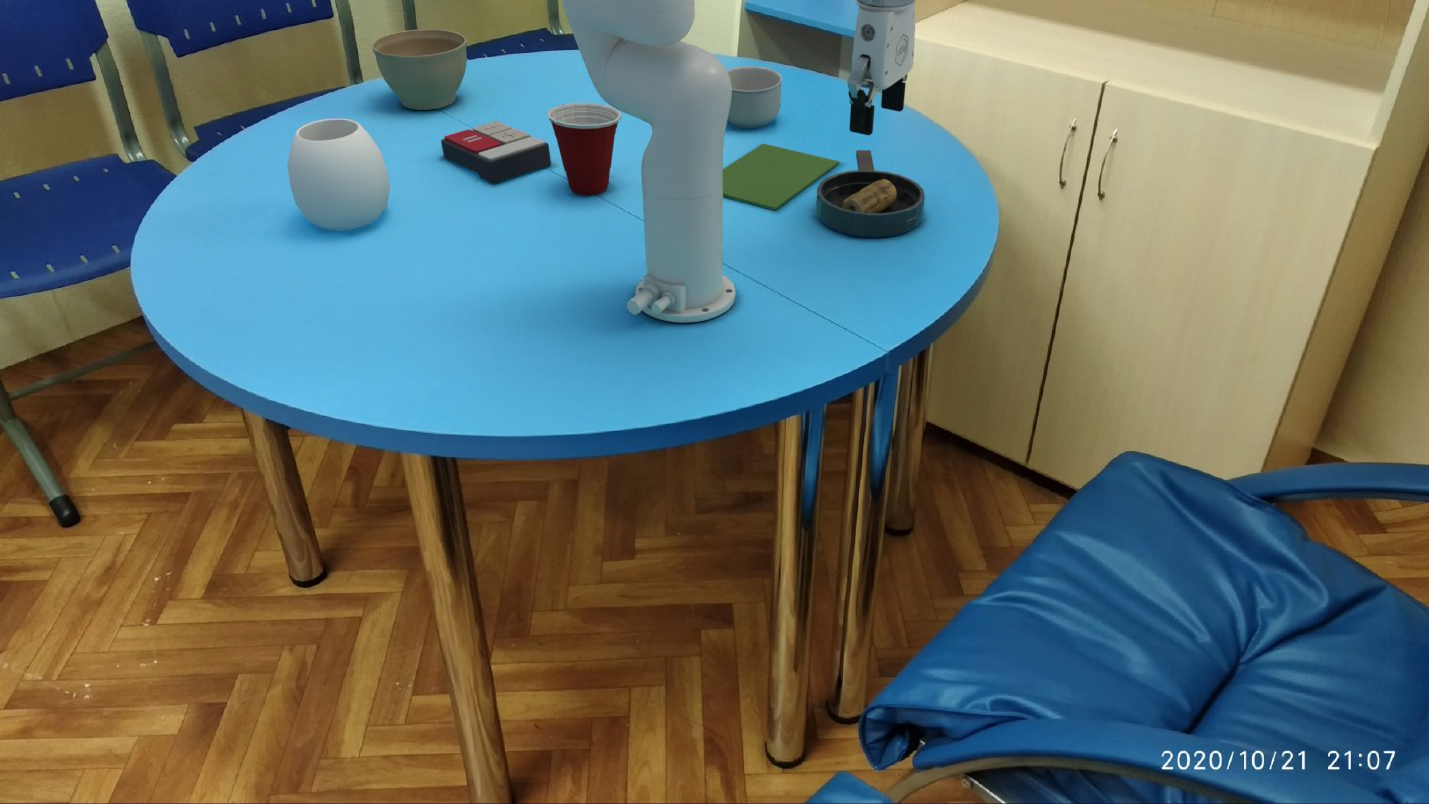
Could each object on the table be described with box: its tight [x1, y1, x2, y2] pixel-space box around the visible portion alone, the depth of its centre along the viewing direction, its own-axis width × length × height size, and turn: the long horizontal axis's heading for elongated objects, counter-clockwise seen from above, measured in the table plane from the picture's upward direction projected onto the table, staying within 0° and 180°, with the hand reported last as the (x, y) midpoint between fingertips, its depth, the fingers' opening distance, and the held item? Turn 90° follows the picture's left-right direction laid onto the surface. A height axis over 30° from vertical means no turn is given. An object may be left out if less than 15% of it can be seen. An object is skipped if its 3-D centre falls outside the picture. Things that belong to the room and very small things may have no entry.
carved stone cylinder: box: [843, 179, 897, 213], centre depth 151 cm, size 8×4×4 cm, turn 135°
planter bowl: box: [371, 28, 468, 111], centre depth 188 cm, size 16×16×11 cm
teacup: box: [726, 65, 783, 129], centre depth 180 cm, size 14×11×8 cm
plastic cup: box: [546, 102, 623, 197], centre depth 157 cm, size 11×11×12 cm
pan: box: [815, 169, 926, 238], centre depth 151 cm, size 15×15×4 cm
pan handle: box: [855, 149, 875, 170], centre depth 159 cm, size 8×2×1 cm, turn 177°
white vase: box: [287, 117, 391, 231], centre depth 148 cm, size 13×13×14 cm
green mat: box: [723, 143, 840, 212], centre depth 163 cm, size 20×14×1 cm
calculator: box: [440, 121, 552, 185], centre depth 167 cm, size 11×4×15 cm
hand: (876, 120), depth 144 cm, fingers open, 9 cm apart
